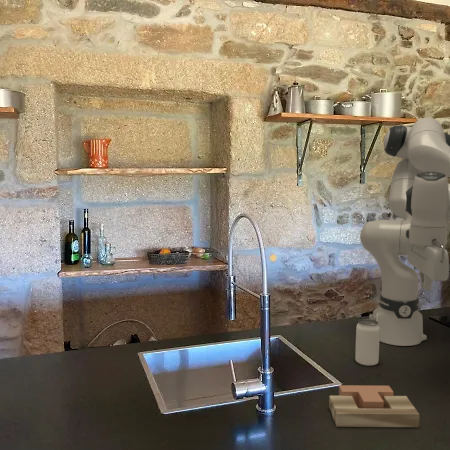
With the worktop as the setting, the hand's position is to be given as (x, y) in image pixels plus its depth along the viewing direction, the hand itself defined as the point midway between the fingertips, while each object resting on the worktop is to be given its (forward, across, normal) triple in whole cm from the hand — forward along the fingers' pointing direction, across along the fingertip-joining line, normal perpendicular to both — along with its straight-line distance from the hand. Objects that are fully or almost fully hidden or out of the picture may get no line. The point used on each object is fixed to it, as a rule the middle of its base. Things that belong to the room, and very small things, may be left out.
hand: (425, 288), depth 129 cm
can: (+25, +12, +12) cm, 30 cm away
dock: (+24, -20, +18) cm, 36 cm away
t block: (+24, -17, +18) cm, 35 cm away
